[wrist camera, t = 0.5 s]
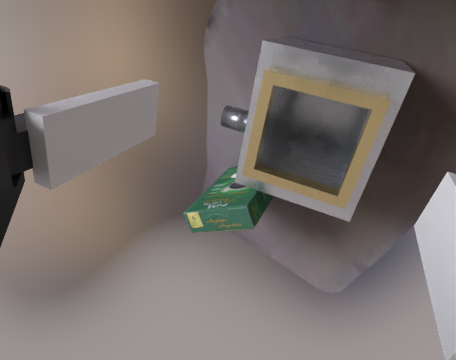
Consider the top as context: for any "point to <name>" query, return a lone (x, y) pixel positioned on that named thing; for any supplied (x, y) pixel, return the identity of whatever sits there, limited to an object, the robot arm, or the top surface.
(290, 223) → the top surface
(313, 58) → the metal box
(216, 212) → the coffee box
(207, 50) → the top surface
